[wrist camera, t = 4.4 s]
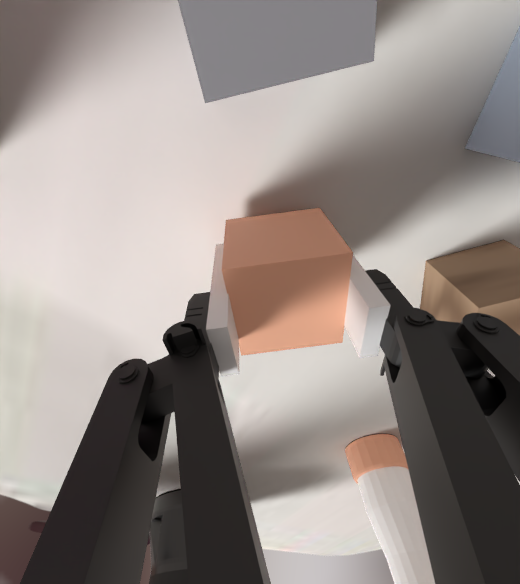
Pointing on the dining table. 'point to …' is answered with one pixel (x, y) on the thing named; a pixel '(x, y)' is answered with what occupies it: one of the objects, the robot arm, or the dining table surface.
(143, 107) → the dining table surface
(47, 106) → the dining table surface
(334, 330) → the terracotta cube
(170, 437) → the dining table surface
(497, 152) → the slate blue cube
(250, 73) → the charcoal cube
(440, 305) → the walnut cube
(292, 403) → the dining table surface
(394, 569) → the pepper shaker
